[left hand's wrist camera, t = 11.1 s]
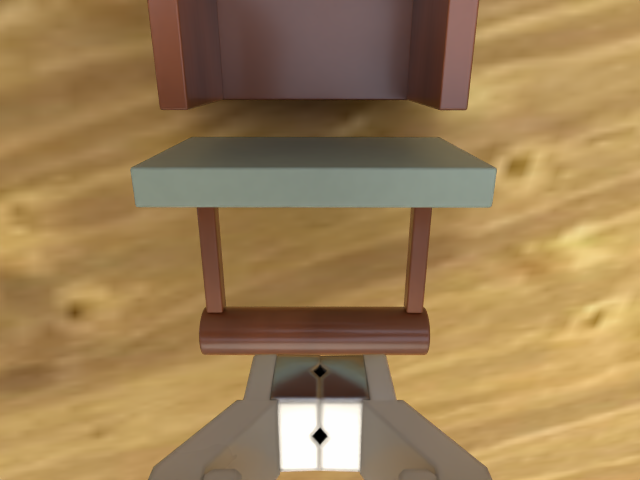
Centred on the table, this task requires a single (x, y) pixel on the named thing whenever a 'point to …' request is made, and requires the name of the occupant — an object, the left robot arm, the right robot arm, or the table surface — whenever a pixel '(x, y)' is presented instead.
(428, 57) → the drawer
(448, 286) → the table surface
